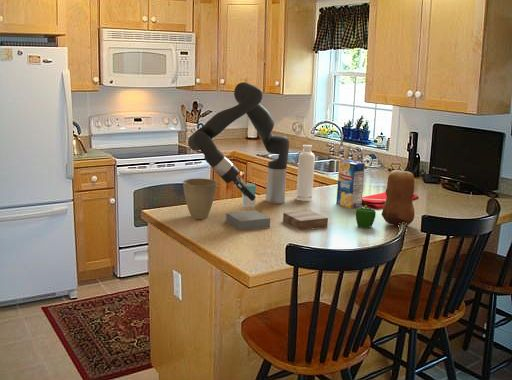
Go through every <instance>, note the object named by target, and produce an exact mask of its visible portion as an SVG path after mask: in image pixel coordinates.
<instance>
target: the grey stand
mask: <svg viewBox="0 0 512 380" xmlns="http://www.w3.org/2000/svg"><path fill="white" fill-rule="evenodd" d="M225 214H226V216H225V222H226V223H228V224H229V225H230V226H232V227H234V228H235V229H237V230H238V231H248V230H249V231H250V230H257V229H266V228H267V229H269V228H271V217H268V216H267V215H265V214H263V213H261V212H259V211H257V210H256V209H253V210H251V209H250V210H241V211H231V212H230V211H229V212H226V213H225Z"/></svg>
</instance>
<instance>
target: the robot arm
mask: <svg viewBox="0 0 512 380" xmlns="http://www.w3.org/2000/svg"><path fill="white" fill-rule="evenodd" d="M233 95H234V96H233V97H234V99H235V101H236V102H237V103H238V104H237V105H235V106H233V107H229V108H227V109H223V110H221V111H219V112H217V113H216V114H215V115H213V116H212V117H211V118H210V119H208V121H206V123H204V124H203V126H201V127H200V128H199V129H197V130H195V131H194V132H193V133H192V134H191V135H190V136H189V137H188V140H187V145H188V147H189V148H190V149H191V150H192V151H200V152H201V153H202V154H203V158H204V160H205V162H207V164H208V165H209V166H210V167H211V168H212V169H213V170H214V172H215V173H216V174H217V175H218V176H219V177H220V178H221V180H223V182H225V184H230V183H231V182H232V185H233V186H234V187H235V188H237V189H238V191H239V192H241V194H242V193H243V194H244V195H246V196H247V197H248V198H249V199H250V200H251V201H253V200H254V199H255V200H256V195H255V196H254V195H253V194H252V193H251V192H250V190H248V189H247V186H246V185H245V181H244V180H243V179H242V177H240V176H239V174H240V170H239V168H237V167H236V166H235V164H234V163H233V162H232V161H231V160H230V159H229V158H228V157H226V156H225V155H224V153H222V152H221V150H219V149H218V147H217V145H216V144H215V142H214V141H213V140H212V139H214V138H216V137H217V136H218V135H220V134H221V133H222V132H223V131H224V130H225V129H227V128H228V126H230V125H231V124H232V123H233V122H235V121H236V120H238V119H240V118H241V117H243V116H244V115H247V117H248V118H249V121H250V122H251V124H252V126H253V127H254V129H255V130H256V132H257V133H258V135H259V137H260V139H261V141H262V143H263V146H264V148H265V150H266V151H267V153H269V154H272V155H278V157H277V158H276V159H274V160H270V161H268V163H267V182H266V190H265V202H267V203H269V204H284V203H286V202H285V201H286V200H285V199H286V184H287V183H286V182H287V165H288V161H289V151H290V150H289V149H290V139H289V138H288V137H287V136H284V135H277V134H273V133H272V131H273V129H274V127H275V122H274V119H273V117H272V115H271V113H270V112H269V111H268V109H266V107H264V106H263V105H262V104H261V102H262V99H263V96H264V95H263V90H262V89H261V88H259V87H257V86H255V85H254V84H251V83H248V82H240V83H237V85H236V86H235V88H234V92H233ZM243 184H244V185H243ZM244 189H246V191H245V192H244V191H243V190H244Z"/></svg>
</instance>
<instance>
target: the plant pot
mask: <svg viewBox="0 0 512 380" xmlns="http://www.w3.org/2000/svg"><path fill="white" fill-rule="evenodd" d="M217 184H218V181H216V180H215V179H210V178H201V177H198V178H195V177H194V178H188V179H184V180H183V181H182V187H183V193H184V198H185V202H186V206H187V209H188V212H189V215H190V217H191V218H192V219H194V220H195V219H197V220H203V219H206V218H208V217H209V215H210V212H211V209H212V207H213V203H214V199H215V196H216V190H217Z"/></svg>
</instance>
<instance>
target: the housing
mask: <svg viewBox="0 0 512 380" xmlns="http://www.w3.org/2000/svg"><path fill="white" fill-rule="evenodd" d="M244 183H245V182H244ZM243 185H244V184H243ZM245 185H246V186H247V189H248V190H250V192H251V193H252V194H253V195H254V196H255V197H256V193H257V191H256V189H257V186H256V184H255V183H250V182H249V183H245ZM243 191H244V192H245V191H246V189H244V190H243ZM241 205H242V207H244V208H255V207H256V198H255V199H254V200H253V201H251V200H250V199H249V198H248V197H247V196H246V195H244V194H243V193H242V192H241Z"/></svg>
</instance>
